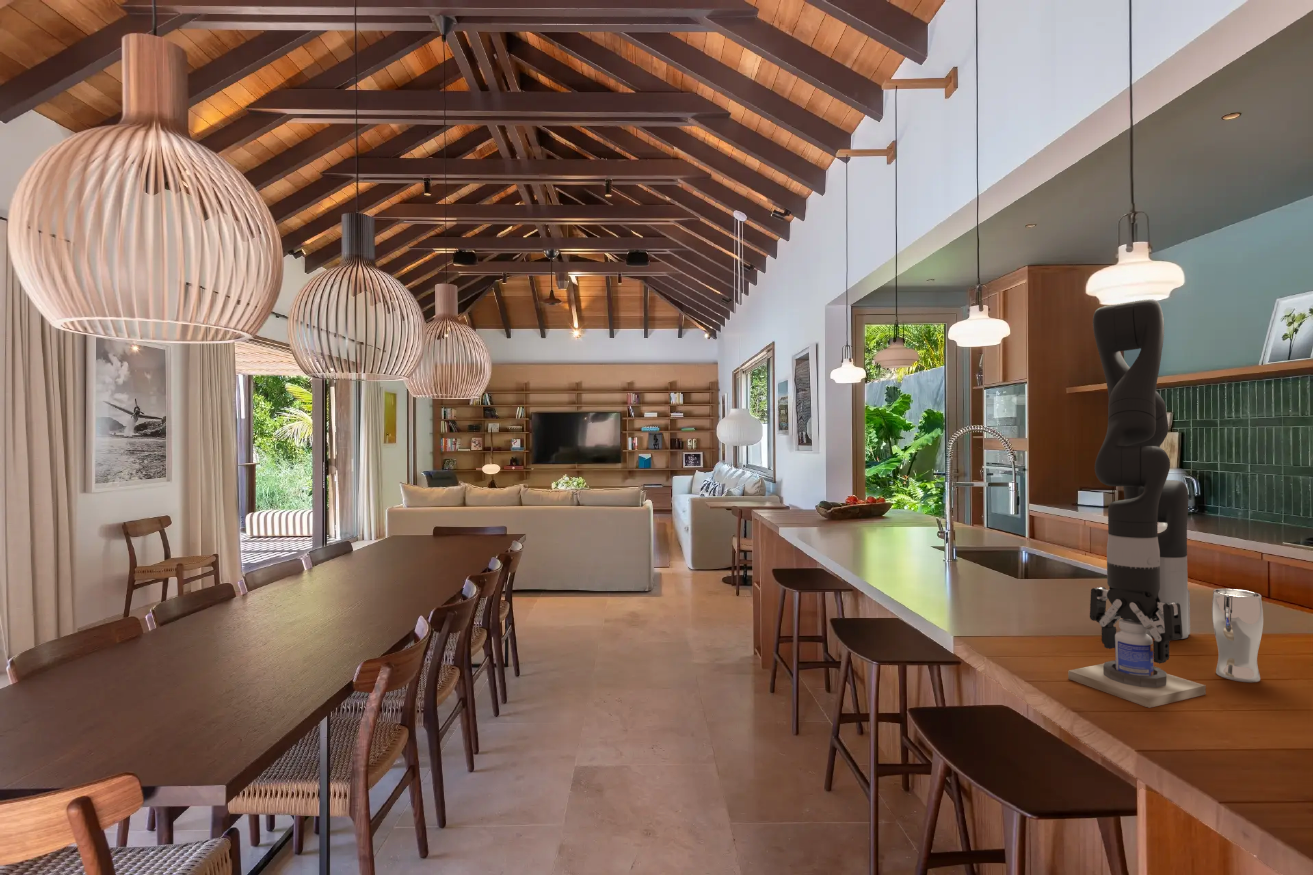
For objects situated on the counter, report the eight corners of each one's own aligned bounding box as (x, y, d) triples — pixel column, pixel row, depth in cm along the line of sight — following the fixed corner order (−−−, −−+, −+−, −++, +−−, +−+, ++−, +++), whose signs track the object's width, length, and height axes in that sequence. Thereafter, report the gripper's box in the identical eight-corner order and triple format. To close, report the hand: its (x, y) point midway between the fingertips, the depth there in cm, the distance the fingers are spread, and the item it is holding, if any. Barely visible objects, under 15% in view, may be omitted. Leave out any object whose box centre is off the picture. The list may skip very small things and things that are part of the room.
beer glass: (1252, 671, 124) (1251, 589, 124) (1272, 685, 117) (1271, 598, 117) (1205, 668, 126) (1204, 587, 126) (1223, 681, 119) (1222, 595, 119)
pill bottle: (1160, 684, 115) (1159, 626, 115) (1124, 682, 116) (1123, 625, 116) (1143, 672, 120) (1143, 617, 120) (1109, 671, 121) (1109, 616, 121)
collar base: (1122, 667, 127) (1122, 651, 127) (1205, 694, 114) (1205, 676, 114) (1068, 678, 122) (1068, 662, 122) (1149, 707, 109) (1148, 689, 109)
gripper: (1192, 566, 112) (1193, 664, 112) (1107, 553, 126) (1109, 640, 126) (1161, 570, 110) (1162, 671, 110) (1078, 556, 123) (1080, 645, 123)
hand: (1134, 654), depth 118 cm, fingers open, 8 cm apart
